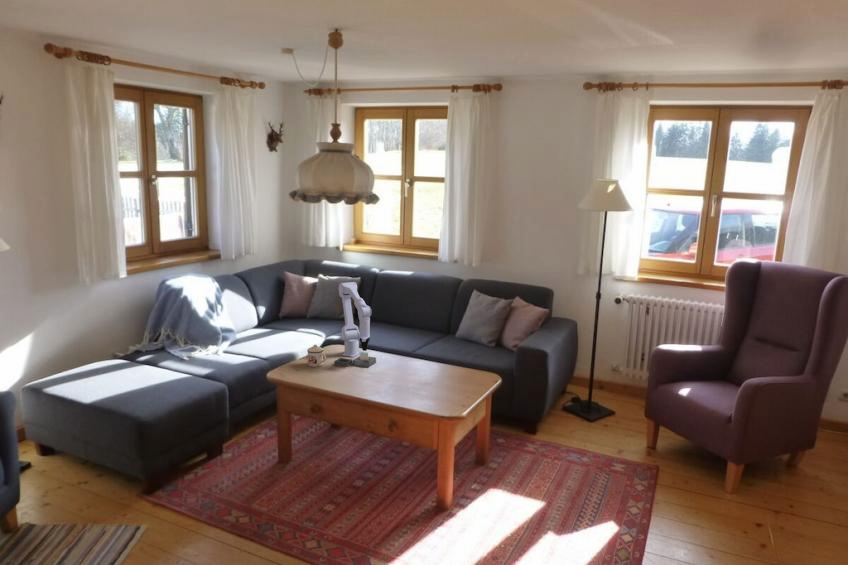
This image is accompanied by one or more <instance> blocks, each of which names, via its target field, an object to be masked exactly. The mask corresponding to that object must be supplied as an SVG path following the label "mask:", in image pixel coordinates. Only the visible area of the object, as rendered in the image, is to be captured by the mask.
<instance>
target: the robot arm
mask: <svg viewBox="0 0 848 565" xmlns="http://www.w3.org/2000/svg"><path fill="white" fill-rule="evenodd" d="M338 294H339V297H340V298H341V301H342V307H343V308H342V309H343V318H344V323H345V324H344V326H342V328H341V334H340V335H341V336H340V337H341V339H342V340H343V341H344V353H342V354H341V356H343V357H349V358H350V357H351V358H354V357H356V356H359V355H360V352H361V351H360V345H361V349H362V352H367V350H368V345H369V342H370V339H371V338H370V337H371V333H370V332H371V331H370V328H371V326H370V324H371V318H370V317H371V316H372V313H373V312H372V311H373V310H372V308H371V306H369V305H367V304H366V302H365V300H364V298H362V297H360V295H359V292H358V285H357V282H355V281H351V282H340V283H339V284H338ZM351 298H352V300H353V301H354V302H353V304H354V306H355V308H356V309H357V315H358V320H359V327H358V325H356V324H354V316H353V308H352V300H351Z"/></svg>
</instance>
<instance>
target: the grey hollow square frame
mask: <svg viewBox="0 0 848 565" xmlns="http://www.w3.org/2000/svg"><path fill="white" fill-rule="evenodd" d="M353 360H354V359H351V358H345V357H339V358H338V359H335V360H334V361H333V362H334V364H333V365H334V366H336V367H337V366H338V367H342V366H343V368H347V367H350V366H351V365H353ZM349 365H350V366H349Z"/></svg>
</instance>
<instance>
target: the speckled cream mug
mask: <svg viewBox="0 0 848 565" xmlns="http://www.w3.org/2000/svg"><path fill="white" fill-rule="evenodd" d="M326 361H327V355H326V354H325V353H324V349H323V348H322V347H320V346H318V344H313V345H312V347H309V348H307V365H308V366H309V367H315V368H316V367H317V368H318V367H321V366H323V365H324V362H326Z"/></svg>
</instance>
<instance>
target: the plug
mask: <svg viewBox="0 0 848 565" xmlns="http://www.w3.org/2000/svg"><path fill="white" fill-rule="evenodd" d="M359 352H360V353H359V356H360V360H366V361H368V357H369V351H359Z"/></svg>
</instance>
